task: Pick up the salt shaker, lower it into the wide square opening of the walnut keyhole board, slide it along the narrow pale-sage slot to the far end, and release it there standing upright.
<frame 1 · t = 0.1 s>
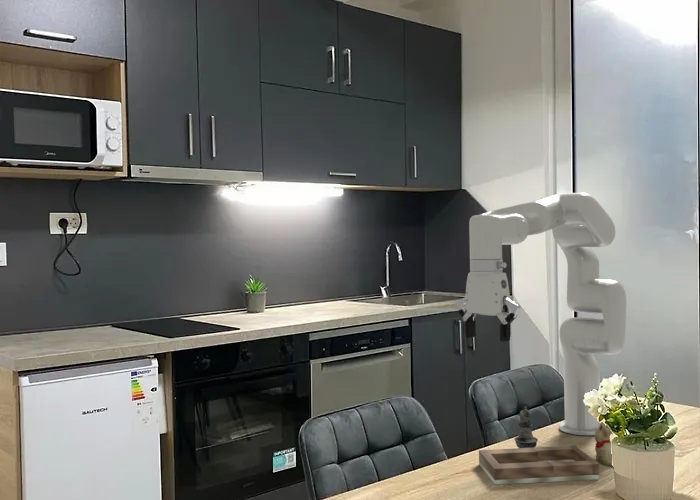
hand: (487, 339, 170), 31 cm above the table, tool pointing down, fingers open, 9 cm apart
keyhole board: (536, 471, 168), on the table
chocolate bunny: (606, 462, 175), on the table
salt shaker: (526, 453, 183), on the table
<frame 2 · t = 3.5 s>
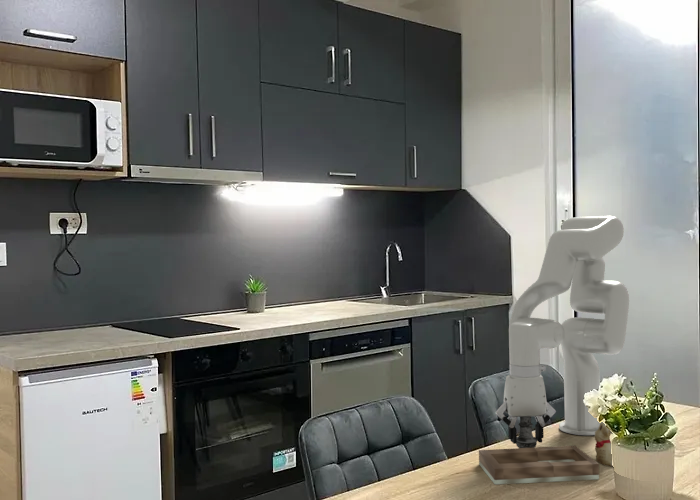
hand: (526, 440, 182), 3 cm above the table, tool pointing down, fingers closed on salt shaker, 5 cm apart
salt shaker: (526, 453, 183), on the table, touching gripper
everything else where it was.
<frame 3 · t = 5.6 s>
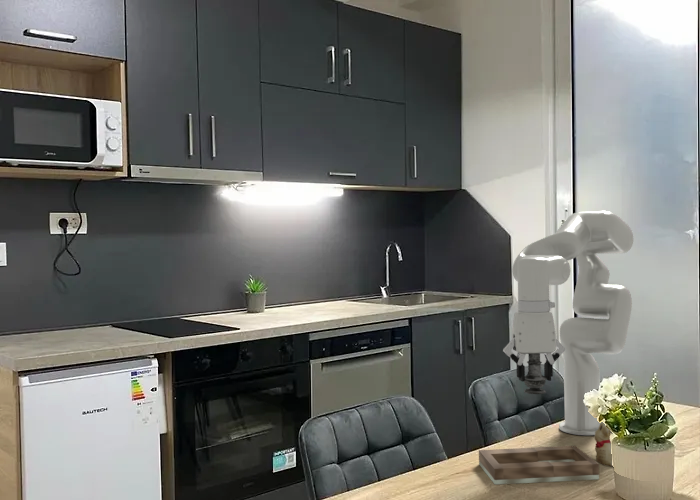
hand: (534, 379, 178), 20 cm above the table, tool pointing down, fingers closed on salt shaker, 5 cm apart
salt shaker: (534, 392, 178), point 16 cm above the table, touching gripper
everything else where it was.
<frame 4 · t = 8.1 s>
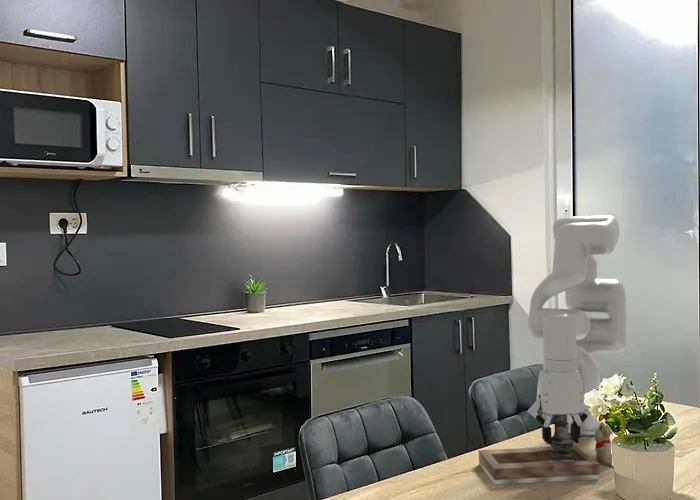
hand: (561, 441, 169), 7 cm above the table, tool pointing down, fingers closed on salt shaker, 5 cm apart
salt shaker: (561, 455, 169), point 4 cm above the table, touching gripper
everything else where it was.
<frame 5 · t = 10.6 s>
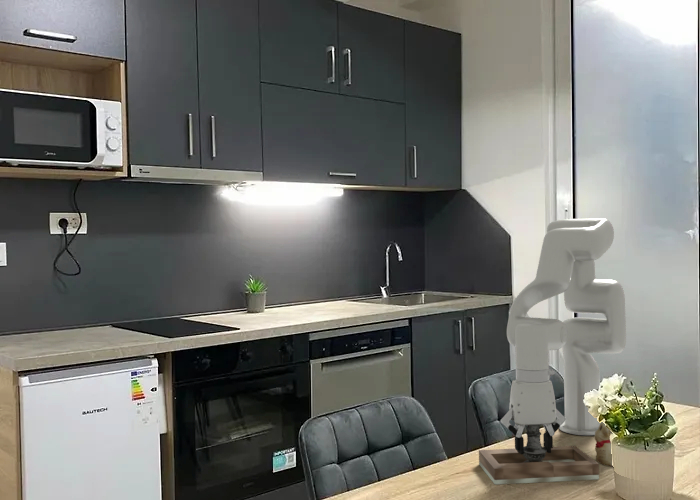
hand: (533, 451, 168), 5 cm above the table, tool pointing down, fingers closed on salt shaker, 5 cm apart
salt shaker: (534, 465, 168), point 1 cm above the table, touching gripper
everything else where it was.
when the fingers open (5 cm above the table, at t = 12.8 s): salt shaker stays where it is, resting on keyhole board.
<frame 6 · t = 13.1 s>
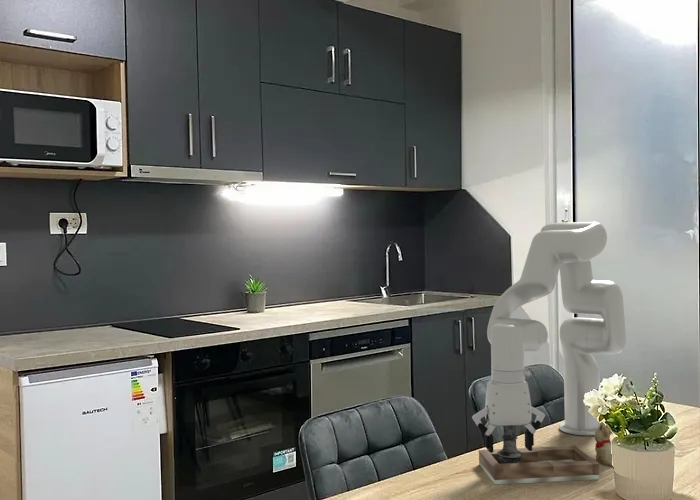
hand: (509, 449, 168), 5 cm above the table, tool pointing down, fingers open, 8 cm apart
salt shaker: (509, 469, 168), point 1 cm above the table, touching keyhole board
everything else where it was.
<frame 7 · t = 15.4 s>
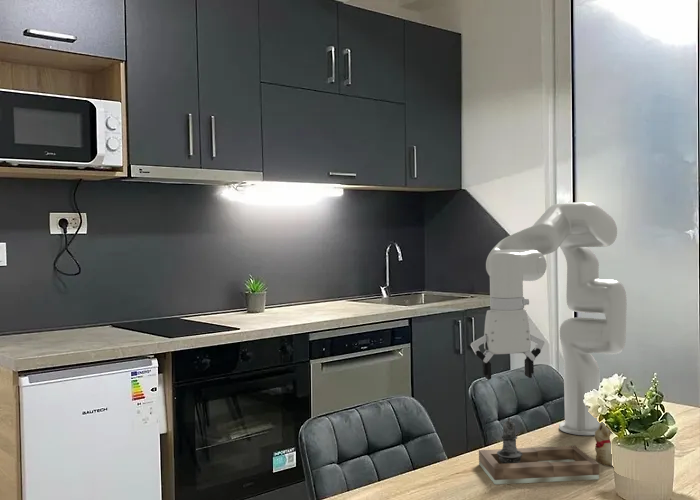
hand: (508, 377, 168), 22 cm above the table, tool pointing down, fingers open, 9 cm apart
nothing on the table moved.
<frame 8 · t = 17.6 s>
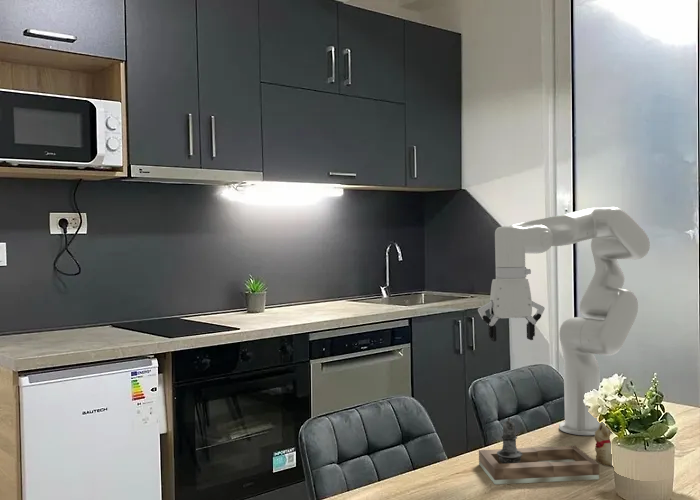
hand: (511, 340, 186), 28 cm above the table, tool pointing down, fingers open, 9 cm apart
nothing on the table moved.
at the end: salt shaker 0.6 cm from the target spot on the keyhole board, point 0.8 cm above the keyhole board's base; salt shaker tilted 0°; the gripper is holding nothing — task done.
